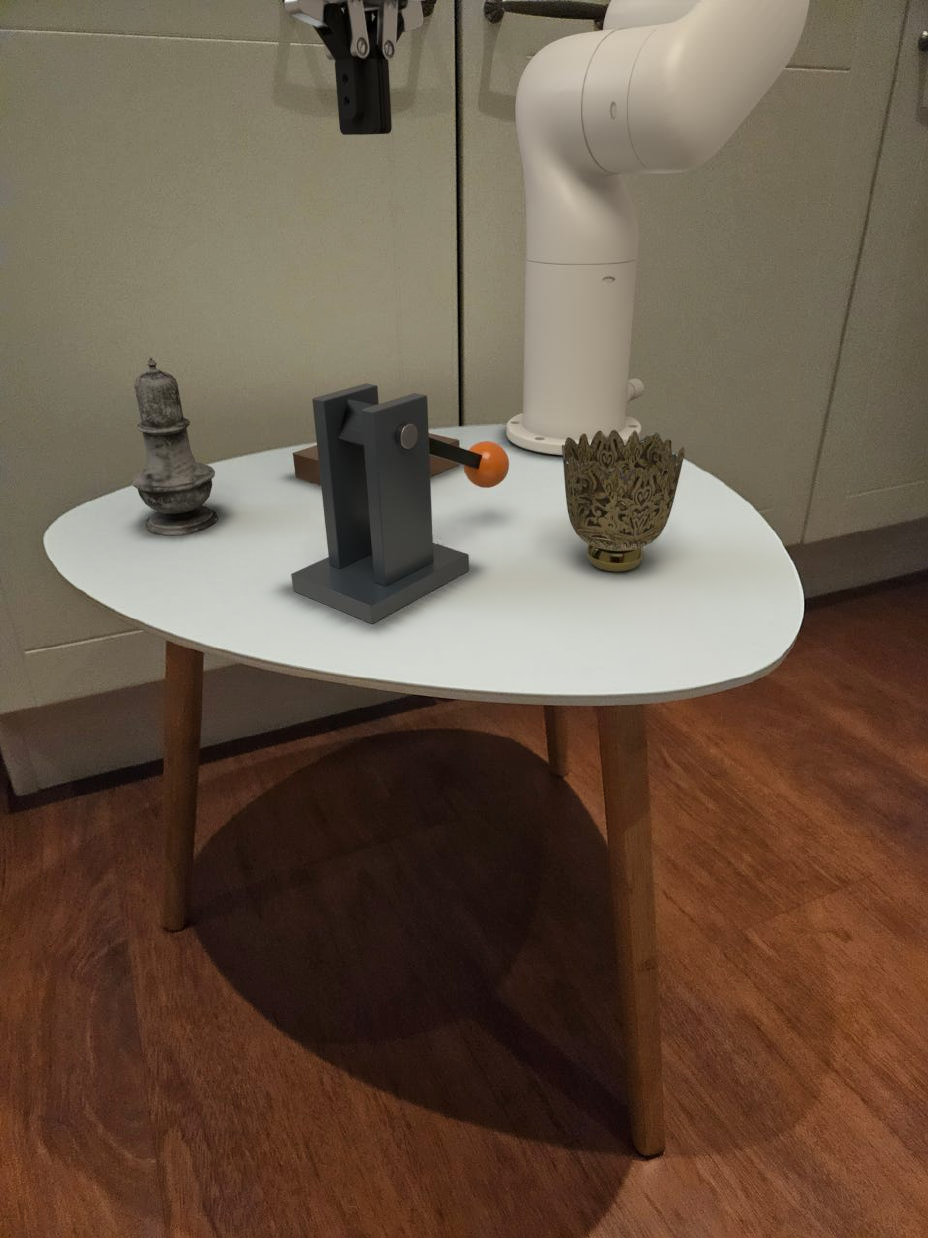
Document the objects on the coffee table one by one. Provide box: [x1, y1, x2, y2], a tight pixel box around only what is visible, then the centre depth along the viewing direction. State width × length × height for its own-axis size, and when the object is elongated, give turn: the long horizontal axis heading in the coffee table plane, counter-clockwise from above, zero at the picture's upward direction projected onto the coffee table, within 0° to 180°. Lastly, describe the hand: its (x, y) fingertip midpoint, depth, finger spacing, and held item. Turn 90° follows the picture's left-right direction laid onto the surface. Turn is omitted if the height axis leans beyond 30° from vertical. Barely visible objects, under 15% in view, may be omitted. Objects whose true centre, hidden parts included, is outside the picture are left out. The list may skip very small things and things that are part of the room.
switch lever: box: [338, 399, 510, 489], centre depth 55 cm, size 15×3×3 cm, turn 141°
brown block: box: [292, 432, 461, 486], centre depth 72 cm, size 11×9×4 cm
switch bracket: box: [290, 382, 470, 624], centre depth 52 cm, size 9×7×12 cm
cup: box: [562, 430, 686, 572], centre depth 54 cm, size 8×7×8 cm
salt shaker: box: [130, 357, 219, 536], centre depth 61 cm, size 6×6×12 cm
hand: (365, 133), depth 55 cm, fingers closed
